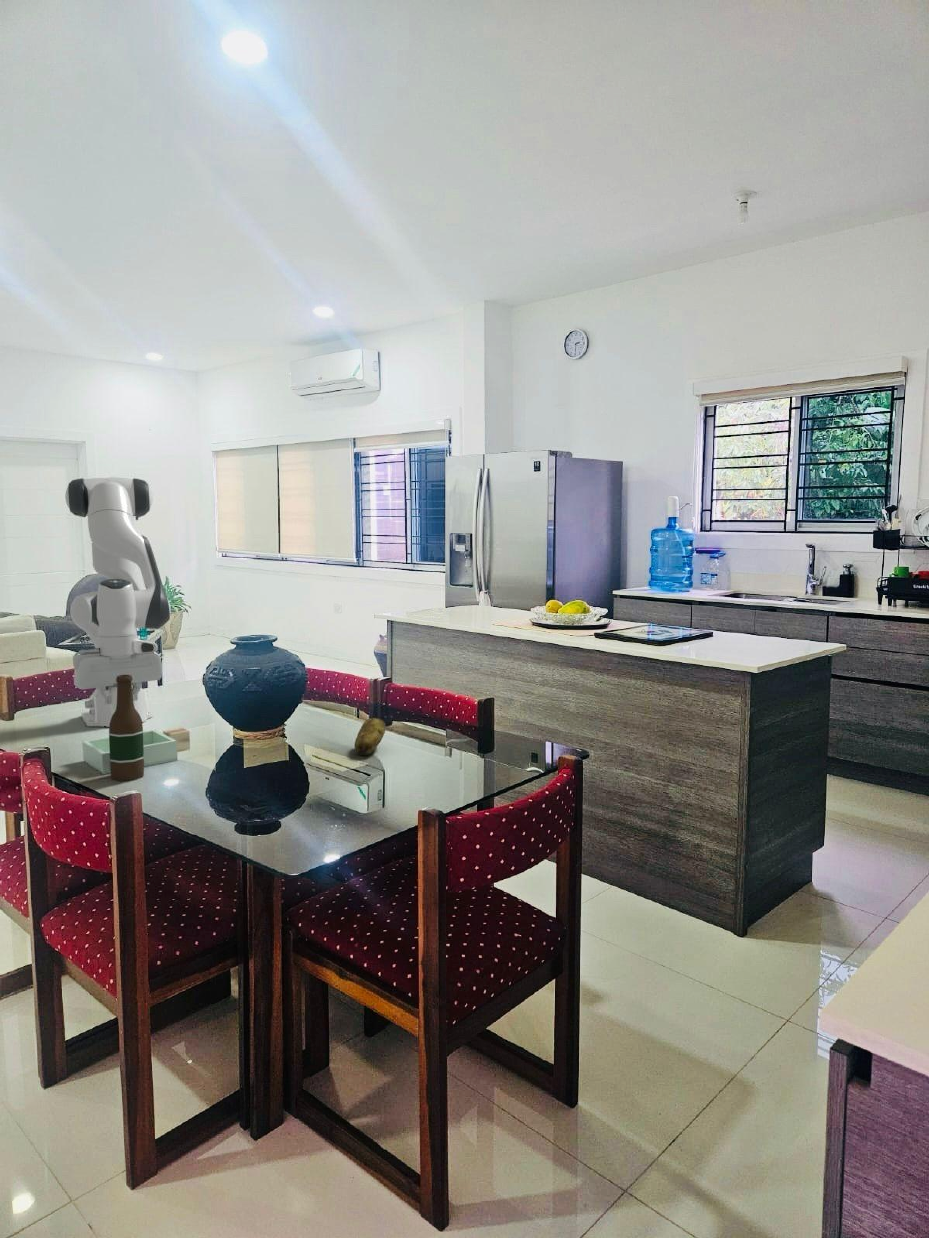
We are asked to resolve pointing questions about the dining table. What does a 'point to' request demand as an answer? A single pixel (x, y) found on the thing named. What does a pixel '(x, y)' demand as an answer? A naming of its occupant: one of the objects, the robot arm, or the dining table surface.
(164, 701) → the dining table surface
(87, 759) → the tote
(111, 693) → the white jar
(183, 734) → the beech cube
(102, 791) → the dining table surface
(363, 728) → the potato
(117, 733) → the beer bottle
